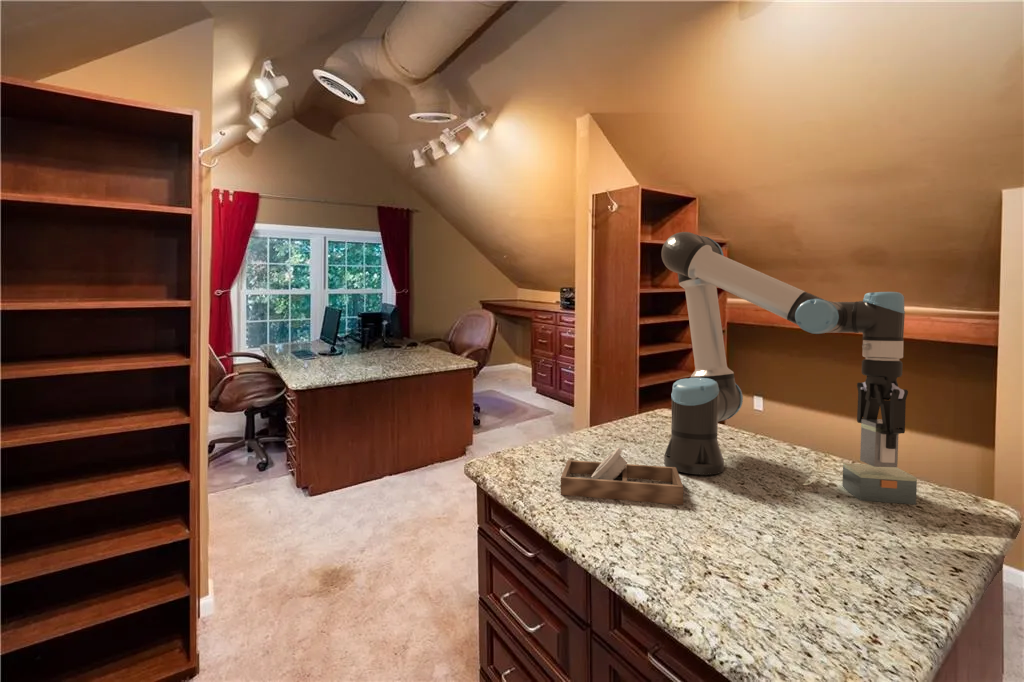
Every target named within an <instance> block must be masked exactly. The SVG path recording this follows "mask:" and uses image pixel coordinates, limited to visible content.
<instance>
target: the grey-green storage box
mask: <svg viewBox="0 0 1024 682" xmlns="http://www.w3.org/2000/svg"><path fill="white" fill-rule="evenodd" d="M842 486H843V487H844V488H845V489H846V490H845V489H844V488H843V487H842V488H843V489H844V490H845V491H847V493H850V494H851V495H853V496H854V497H855V498H856V499H858V501H866V502H876V503H878V502H879V503H893V504H906V505H917V489H918V487H917V486H918V477H916V476H914V475H913V474H911V473H909V472H907V471H905V470H903V469H901V468H899V467H898V466H897V467H874V466H871V465H869V464H867V463H865V464H864V463H863V464H862V463H850V462H849V463H847V462H843V463H842Z"/></svg>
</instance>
